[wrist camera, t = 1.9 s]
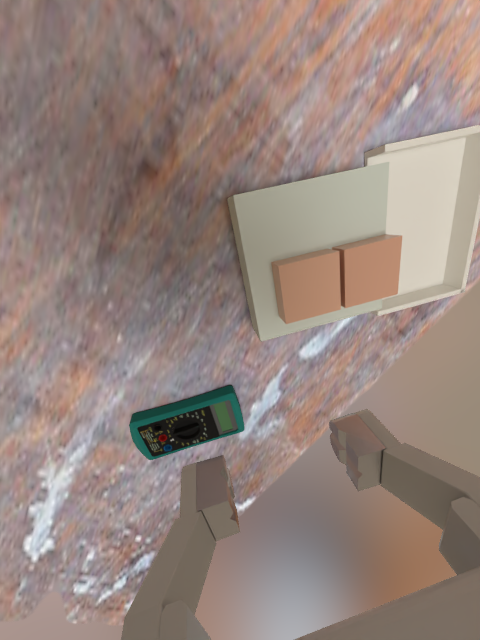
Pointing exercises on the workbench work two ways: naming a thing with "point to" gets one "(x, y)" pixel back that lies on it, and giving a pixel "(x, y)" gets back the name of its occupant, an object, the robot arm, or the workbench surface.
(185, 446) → the digital multimeter
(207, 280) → the workbench surface
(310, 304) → the tile
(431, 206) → the tray
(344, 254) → the tile
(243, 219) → the board
